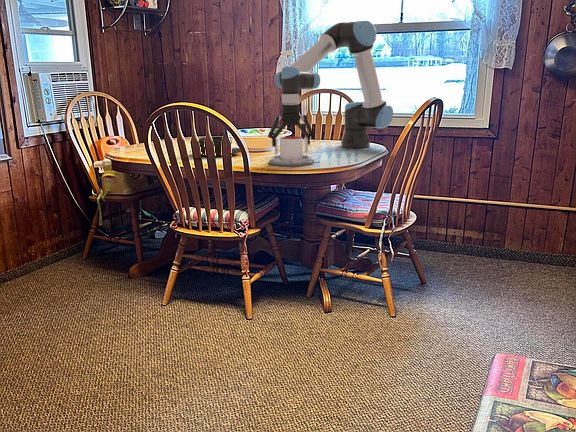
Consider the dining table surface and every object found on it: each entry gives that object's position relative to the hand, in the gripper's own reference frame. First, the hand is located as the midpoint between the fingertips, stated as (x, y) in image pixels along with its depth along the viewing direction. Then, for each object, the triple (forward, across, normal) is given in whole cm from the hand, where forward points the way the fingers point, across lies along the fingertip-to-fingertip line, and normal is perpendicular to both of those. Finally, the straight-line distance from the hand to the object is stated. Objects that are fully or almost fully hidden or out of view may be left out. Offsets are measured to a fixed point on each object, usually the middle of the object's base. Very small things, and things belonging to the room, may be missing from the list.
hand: (291, 153), depth 241 cm
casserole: (+4, +29, -35) cm, 46 cm away
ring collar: (+4, 0, 0) cm, 4 cm away
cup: (+3, 0, 0) cm, 3 cm away
